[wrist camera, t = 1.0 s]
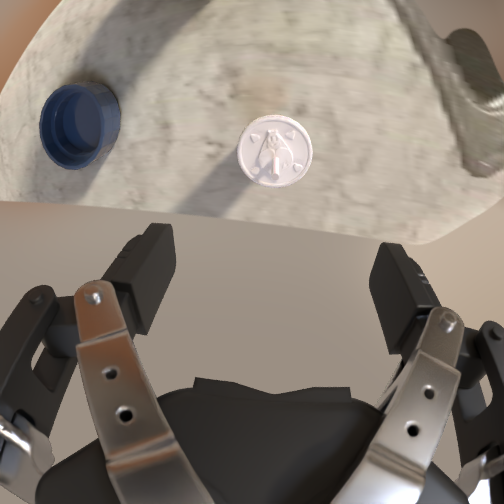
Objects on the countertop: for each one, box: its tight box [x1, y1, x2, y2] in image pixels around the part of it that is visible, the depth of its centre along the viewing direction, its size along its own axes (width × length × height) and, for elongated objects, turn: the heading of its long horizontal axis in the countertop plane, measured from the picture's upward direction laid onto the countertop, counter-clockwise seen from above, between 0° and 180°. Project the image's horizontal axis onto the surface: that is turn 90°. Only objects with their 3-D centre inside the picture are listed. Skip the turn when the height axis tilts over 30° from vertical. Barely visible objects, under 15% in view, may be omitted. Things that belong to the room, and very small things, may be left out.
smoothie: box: [237, 115, 312, 188], centre depth 25 cm, size 6×6×14 cm
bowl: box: [39, 81, 120, 170], centre depth 29 cm, size 11×11×4 cm
